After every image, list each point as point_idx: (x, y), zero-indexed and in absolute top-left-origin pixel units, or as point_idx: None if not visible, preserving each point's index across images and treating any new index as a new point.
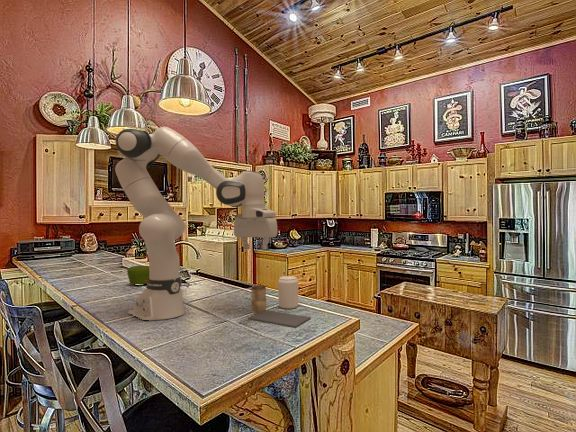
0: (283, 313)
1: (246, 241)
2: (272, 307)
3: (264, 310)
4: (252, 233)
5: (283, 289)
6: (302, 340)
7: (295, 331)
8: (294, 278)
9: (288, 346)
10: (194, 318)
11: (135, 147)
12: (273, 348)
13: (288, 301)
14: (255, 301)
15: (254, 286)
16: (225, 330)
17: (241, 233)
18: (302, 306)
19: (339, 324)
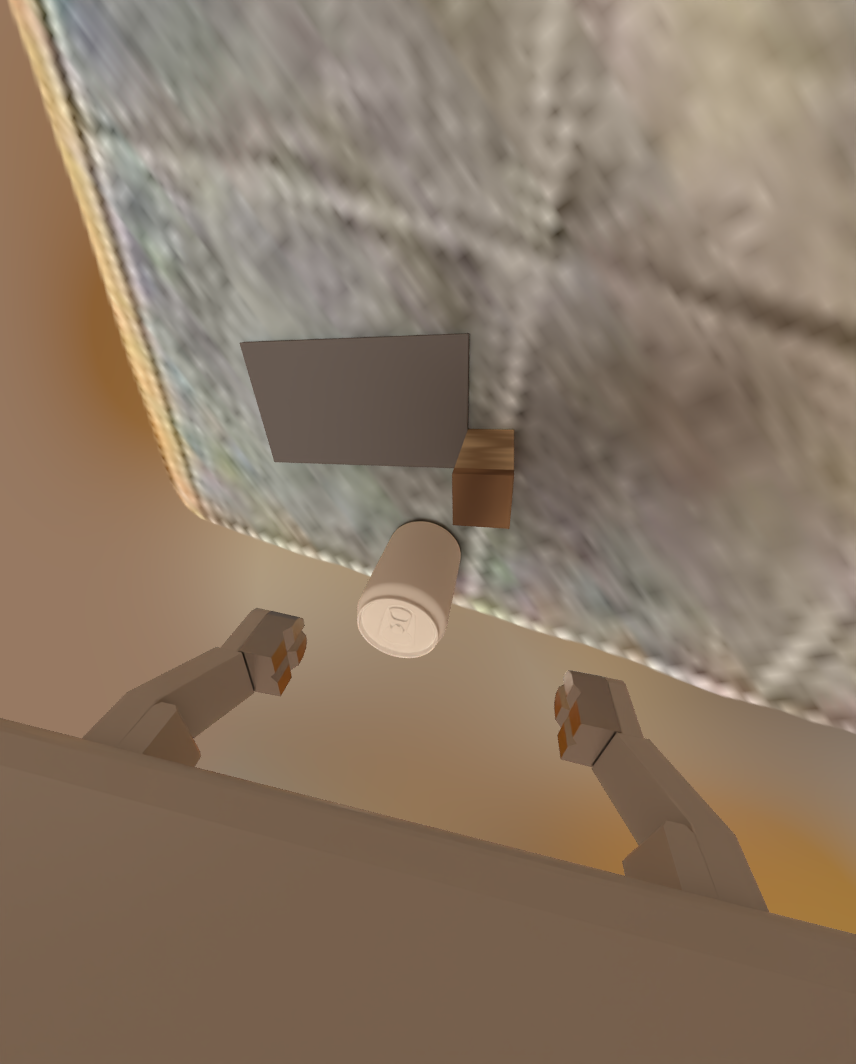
0: (376, 459)
1: (627, 813)
2: None
3: None
4: (323, 923)
5: (402, 563)
6: (129, 224)
7: (217, 305)
8: (371, 631)
9: (103, 111)
10: (800, 142)
11: None
12: (113, 27)
13: (396, 537)
14: (489, 446)
15: (501, 491)
16: (460, 81)
17: (790, 1056)
18: None
19: (183, 451)
